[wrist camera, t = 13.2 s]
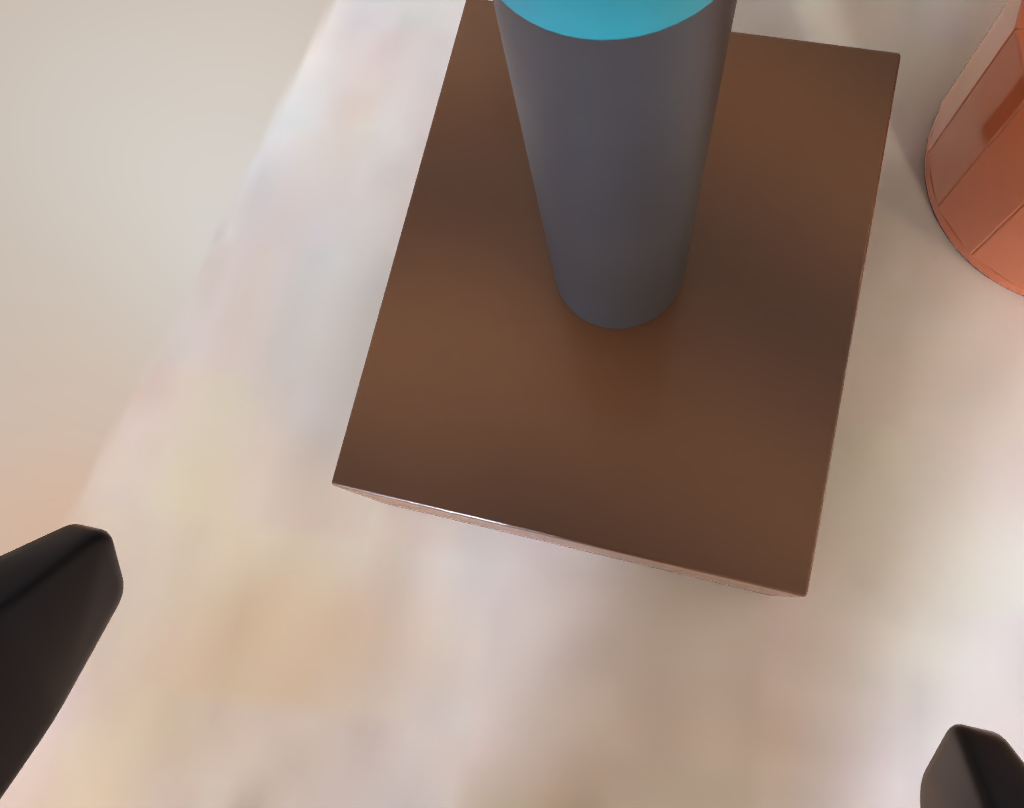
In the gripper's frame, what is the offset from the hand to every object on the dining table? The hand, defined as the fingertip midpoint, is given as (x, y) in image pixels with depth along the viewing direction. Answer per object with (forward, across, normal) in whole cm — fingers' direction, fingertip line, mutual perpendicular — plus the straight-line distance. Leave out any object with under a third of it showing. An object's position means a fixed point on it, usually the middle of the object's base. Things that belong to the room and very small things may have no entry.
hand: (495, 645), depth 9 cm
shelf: (+14, 0, +3) cm, 14 cm away
